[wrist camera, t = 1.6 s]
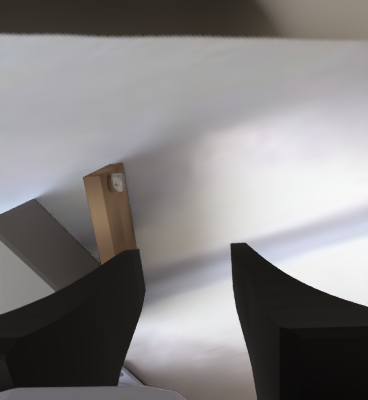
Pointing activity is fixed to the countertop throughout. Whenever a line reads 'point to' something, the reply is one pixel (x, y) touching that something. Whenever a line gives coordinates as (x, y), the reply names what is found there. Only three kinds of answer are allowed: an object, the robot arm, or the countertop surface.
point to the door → (110, 211)
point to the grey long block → (37, 256)
